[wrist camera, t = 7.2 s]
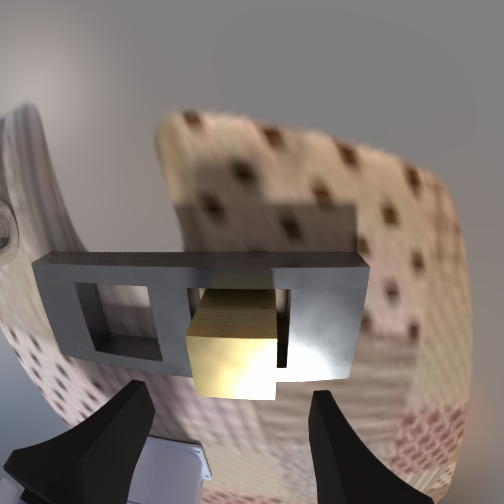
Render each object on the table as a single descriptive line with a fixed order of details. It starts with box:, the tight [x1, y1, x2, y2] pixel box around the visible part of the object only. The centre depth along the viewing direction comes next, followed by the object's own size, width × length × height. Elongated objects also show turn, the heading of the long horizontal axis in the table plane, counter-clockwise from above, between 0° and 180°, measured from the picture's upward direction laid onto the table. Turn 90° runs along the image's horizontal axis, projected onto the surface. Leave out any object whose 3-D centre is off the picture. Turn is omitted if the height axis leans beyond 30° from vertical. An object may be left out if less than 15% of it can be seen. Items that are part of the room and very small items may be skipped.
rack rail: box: [31, 252, 370, 381], centre depth 17 cm, size 8×22×2 cm, turn 91°
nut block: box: [185, 288, 277, 399], centre depth 15 cm, size 4×4×6 cm
